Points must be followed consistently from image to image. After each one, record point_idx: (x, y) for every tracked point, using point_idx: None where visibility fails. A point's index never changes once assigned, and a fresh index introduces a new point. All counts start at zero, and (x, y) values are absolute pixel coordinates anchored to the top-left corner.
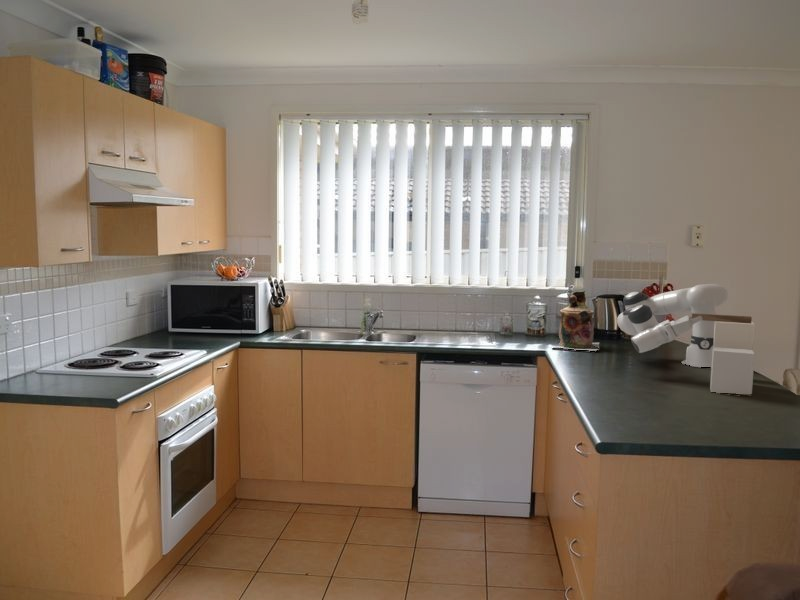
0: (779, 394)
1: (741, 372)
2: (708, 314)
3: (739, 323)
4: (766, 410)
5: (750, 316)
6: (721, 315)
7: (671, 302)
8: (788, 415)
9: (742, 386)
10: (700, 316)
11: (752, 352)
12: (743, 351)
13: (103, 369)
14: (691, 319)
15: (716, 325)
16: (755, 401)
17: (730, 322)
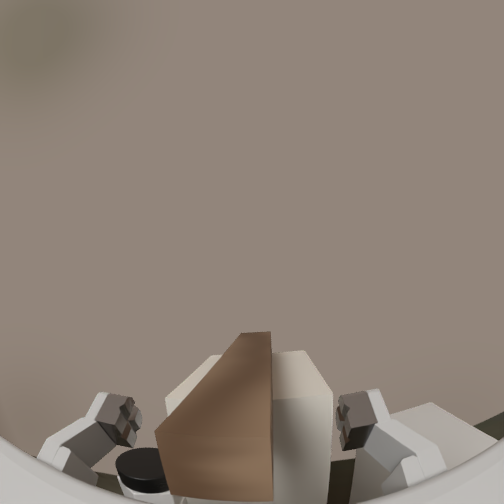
0: (335, 474)
1: None
2: (250, 373)
3: (310, 361)
4: (496, 437)
5: (242, 333)
6: (270, 352)
7: None
8: (491, 421)
9: None
10: (378, 394)
11: (410, 410)
12: (416, 420)
13: None
14: (436, 456)
15: (332, 412)
16: None
17: (294, 373)
